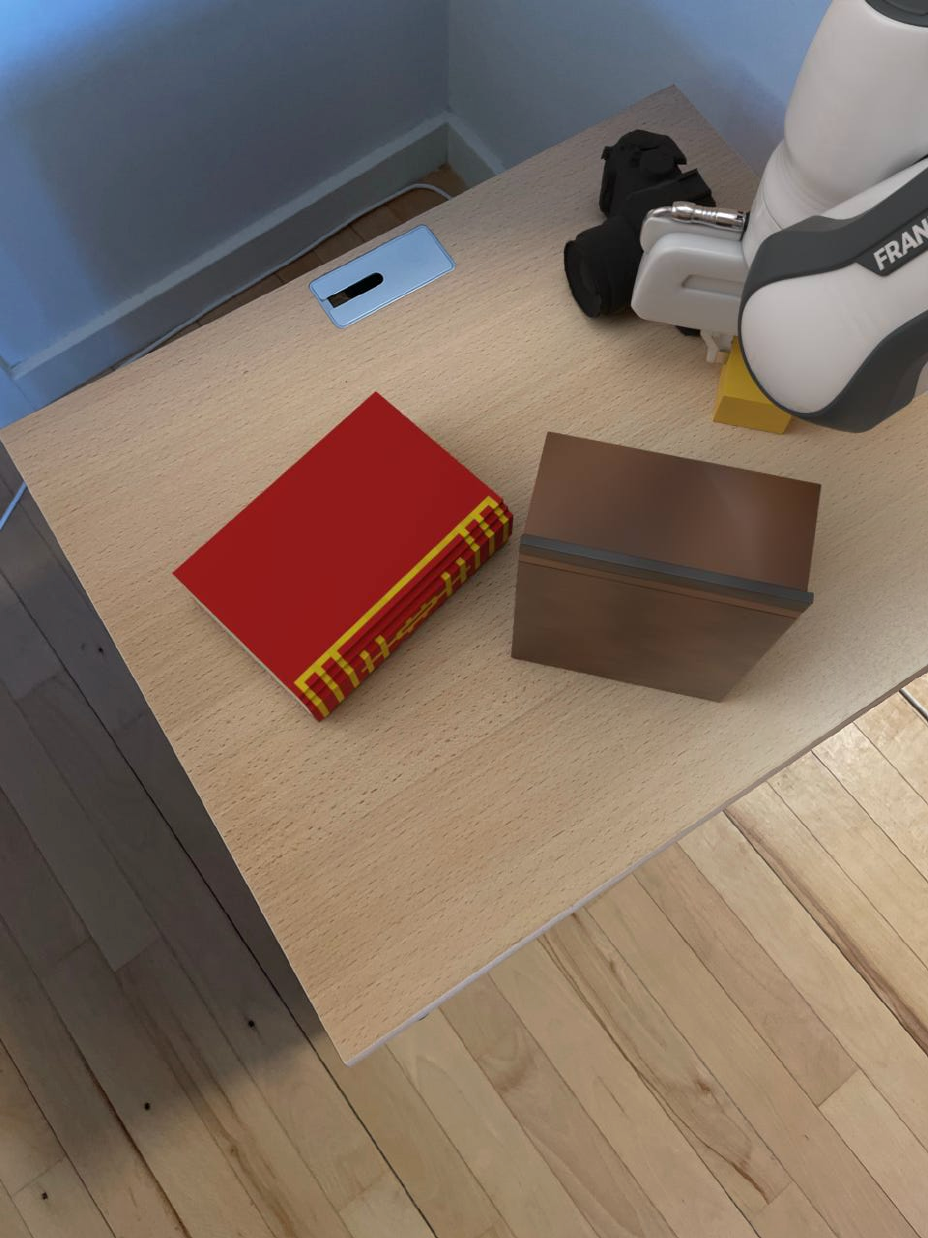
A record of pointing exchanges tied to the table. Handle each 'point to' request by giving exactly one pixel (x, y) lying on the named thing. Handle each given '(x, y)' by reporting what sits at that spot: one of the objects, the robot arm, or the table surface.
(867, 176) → the robot arm
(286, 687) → the book
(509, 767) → the table surface
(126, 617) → the table surface
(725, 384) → the yellow box
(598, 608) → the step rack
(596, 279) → the film camera
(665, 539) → the top shelf
